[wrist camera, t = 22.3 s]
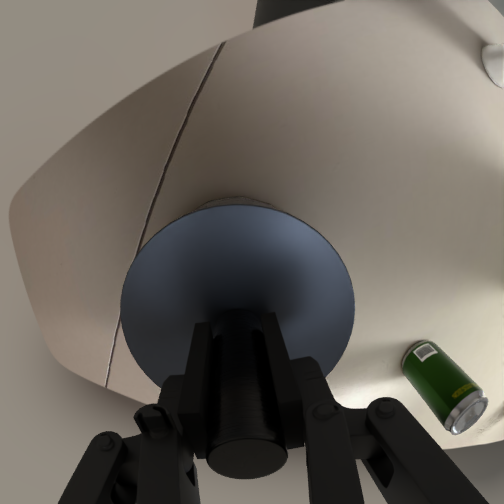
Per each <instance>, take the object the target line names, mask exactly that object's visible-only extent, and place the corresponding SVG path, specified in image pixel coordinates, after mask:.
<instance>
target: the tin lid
mask: <svg viewBox="0 0 504 504" xmlns="http://www.w3.org/2000/svg"><path fill="white" fill-rule="evenodd" d="M271 312H275V313H276V317H277V320H278V323H279V326H280V329H281V333H282V336H283V339H284V342H285V345H286V349H287V352H288V355H289V358H290V360H291V359H297V358H302V357H307V356H311V357H312V358H314V359H315V360H316V361H318V363H319V366H320V368H321V371H322V372H323V375H324V377H326V376H327V375H328V374H329V373H330V372H331V371H332V370H333V368H334V367H335V366H336V364H337V363H338V361H339V360H340V358H341V356H342V355H343V353H344V351H345V349H346V347H347V344H348V342H349V339H350V336H351V333H352V328H353V324H354V315H355V300H354V292H353V287H352V282H351V279H350V276H349V274H348V271H347V269H346V266H345V265H344V263H343V261H342V259H341V258H340V256H339V254H338V253H337V252H336V250H335V249H334V248H333V246H332V245H331V244H330V243H329V242H328V241H327V240H326V239H325V238H324V237H323V236H322V235H321V234H320V233H319V232H318V231H316V230H315V229H314V228H312V227H311V226H309V225H308V224H306V223H305V222H304V221H302V220H300V219H298V218H296V217H294V216H292V215H290V214H288V213H286V212H283V211H280V210H277V209H274V208H271V207H266V206H261V205H256V204H243V203H231V204H220V205H214V206H210V207H206V208H201V209H198V210H196V211H193V212H191V213H188V214H185V215H183V216H182V217H180V218H178V219H176V220H174V221H172V222H171V223H169V224H168V225H167V226H165V227H164V228H163V229H161V230H160V231H159V232H157V233H156V234H155V235H154V236H153V237H152V238H151V239H150V240H149V241H148V242H147V243H146V244H145V245H144V246H143V248H142V249H141V250H140V252H139V253H138V254H137V256H136V257H135V259H134V261H133V262H132V264H131V266H130V268H129V270H128V272H127V275H126V278H125V281H124V284H123V289H122V295H121V304H120V315H121V323H122V329H123V333H124V336H125V340H126V343H127V345H128V347H129V349H130V352H131V354H132V355H133V357H134V359H135V360H136V362H137V364H138V365H139V366H140V368H141V369H142V370H143V371H144V373H145V374H146V375H147V376H148V377H149V378H150V379H151V380H152V381H153V382H154V383H155V384H156V385H157V386H159V387H160V388H162V385H163V382H164V381H165V380H166V379H167V378H168V377H169V375H182V374H185V369H186V364H187V359H188V354H189V350H190V345H191V340H192V335H193V331H194V326H195V323H201V322H209V321H210V325H211V330H212V334H213V339H214V346H213V358H212V371H211V384H210V398H209V413H208V429H207V447H206V461H207V463H208V465H209V467H210V468H211V469H212V470H213V471H215V472H216V473H218V474H220V475H223V476H225V477H229V478H235V479H255V478H260V477H264V476H267V475H270V474H272V473H274V472H276V471H278V470H279V469H280V468H282V466H284V464H285V463H286V461H287V458H288V451H287V446H286V441H285V437H284V432H283V427H282V425H281V420H280V415H279V410H278V405H277V401H276V396H275V391H274V386H273V381H272V376H271V371H270V366H269V361H268V356H267V351H266V346H265V341H264V336H263V331H262V324H261V316H260V314H265V313H271Z"/></svg>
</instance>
